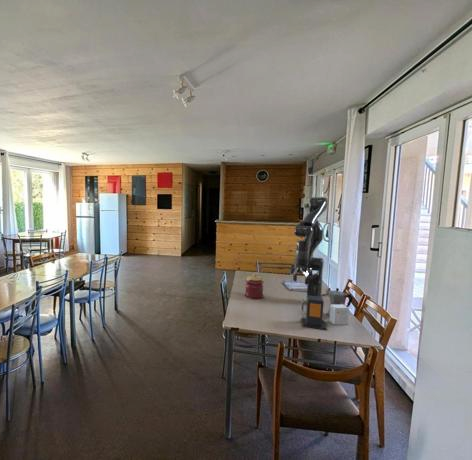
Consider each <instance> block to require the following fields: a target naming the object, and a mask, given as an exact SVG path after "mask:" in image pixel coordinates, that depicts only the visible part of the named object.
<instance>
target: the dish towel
mask: <svg viewBox="0 0 472 460" xmlns="http://www.w3.org/2000/svg"><path fill="white" fill-rule="evenodd" d="M282 282H283V284H284V286H286V288H287V289H289V290H290V291H294V292H295V291H296V292H307V284H305V283H304V282H303V281H298V280H297V281H294V280H282Z"/></svg>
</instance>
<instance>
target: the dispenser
mask: <svg viewBox="0 0 472 460" xmlns="http://www.w3.org/2000/svg"><path fill="white" fill-rule="evenodd" d="M306 299H307V303H306V307H305V311H302V313H303V315H305V317H301V322H302V327H304V328H309V329H316V330H323V331H327V326H326V323H325V320H323V317H324V316H323V315H324V299H323V296H321V297H319V296H310V295H307V294H306Z"/></svg>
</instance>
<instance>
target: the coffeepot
mask: <svg viewBox="0 0 472 460" xmlns="http://www.w3.org/2000/svg"><path fill="white" fill-rule="evenodd" d="M325 292H326V294H328V295H327V296H328V298H329V303H330V304H329V307H328V311H327V316H328V317H330V305H335V304H343V305H344V302H345V298H349V299H348V302H347V303H346V304H345V306H346V307H348V308H349V307H350V306H351V304H352V302H353V300H354V297H353V296H352V295H351V294H349V293H346V292H344V291H340V288H339V287H336V288H335V290H330V291H329V290H325Z"/></svg>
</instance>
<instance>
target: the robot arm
mask: <svg viewBox="0 0 472 460" xmlns="http://www.w3.org/2000/svg"><path fill="white" fill-rule="evenodd" d="M328 207H329V199H328V198H327V197H326V196H325V197H324V196H313V197H310V199H309V203H308V213H307V214H306V215H305V216H304V218H303V219H302V221H300V222H299V223H298V224H297V225H296V226H295V227H294V231H293V232H294V233H293V234H294V235H295V236H296V237H298V238H304V239H300V240H298V241H296V251H295V259H294V260H295V262H294V263H293V264H291V265H290V274H292V279H293V280H292V281H298V274H302V275H303V276H304V284H305V285H306V286H307V291H306V296H307V295H310V296H319V297H323V296H329V295H328V294H327V293H323V294H322V290H323V273H324V263H325V261H324V258H322V257H314V256H313V255H314V252H315V251H316V249H317V248H318V247H319V245H320V244H321V243H322V241H323V240H324V228H323V226H322V225H321V223H320V222H319V220H318V219H319V218H321V216H322V215H323V214H324V213H325V212H326V211H327V210H328ZM313 271H315V273H313ZM328 291H331V287H329V288H328ZM305 299H306V301H305V302H306V304H307V298H305Z"/></svg>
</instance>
